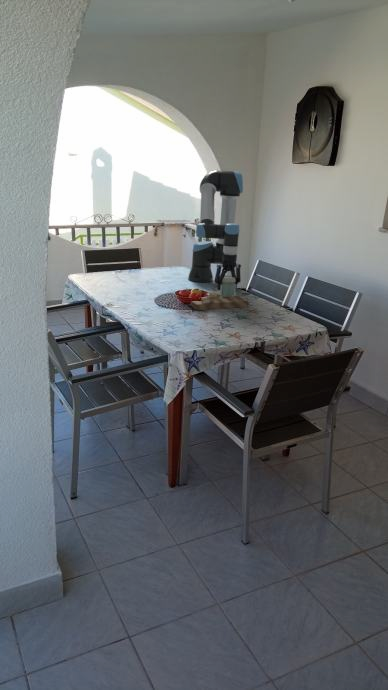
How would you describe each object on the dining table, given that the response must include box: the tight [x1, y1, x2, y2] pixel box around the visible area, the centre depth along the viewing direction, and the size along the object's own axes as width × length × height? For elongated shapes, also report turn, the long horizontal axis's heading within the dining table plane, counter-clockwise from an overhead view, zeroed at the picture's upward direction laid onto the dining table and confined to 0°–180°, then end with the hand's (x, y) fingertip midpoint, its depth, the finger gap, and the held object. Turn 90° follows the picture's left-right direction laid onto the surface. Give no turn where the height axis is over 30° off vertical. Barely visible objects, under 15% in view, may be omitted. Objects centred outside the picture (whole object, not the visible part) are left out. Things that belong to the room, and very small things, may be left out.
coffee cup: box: [221, 274, 235, 297], centre depth 276 cm, size 9×9×12 cm
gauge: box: [200, 291, 222, 303], centre depth 258 cm, size 12×6×4 cm, turn 126°
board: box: [188, 295, 249, 311], centre depth 263 cm, size 30×10×3 cm, turn 116°
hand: (226, 295), depth 277 cm, fingers closed on coffee cup, 8 cm apart
